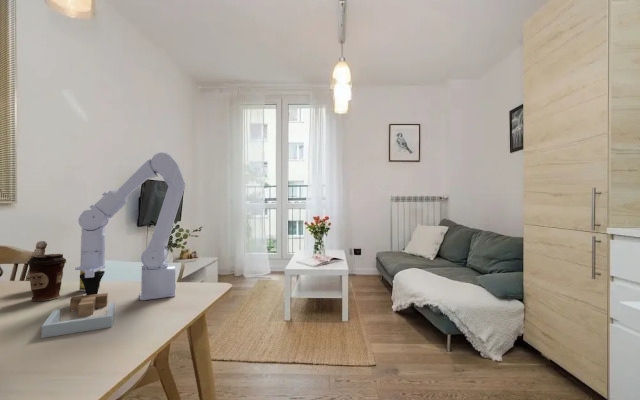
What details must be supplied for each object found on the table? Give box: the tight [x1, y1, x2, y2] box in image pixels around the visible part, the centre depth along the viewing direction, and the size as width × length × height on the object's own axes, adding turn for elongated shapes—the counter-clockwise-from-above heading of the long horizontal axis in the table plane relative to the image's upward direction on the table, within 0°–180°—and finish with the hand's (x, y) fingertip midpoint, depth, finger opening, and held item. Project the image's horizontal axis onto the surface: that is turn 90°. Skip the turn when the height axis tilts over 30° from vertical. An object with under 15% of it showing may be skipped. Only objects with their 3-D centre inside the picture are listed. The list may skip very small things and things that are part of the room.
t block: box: [69, 292, 109, 317], centre depth 83 cm, size 9×8×3 cm
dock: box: [41, 302, 116, 339], centre depth 74 cm, size 11×12×2 cm
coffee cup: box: [26, 253, 67, 302], centre depth 93 cm, size 9×8×13 cm
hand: (92, 297), depth 91 cm, fingers closed
